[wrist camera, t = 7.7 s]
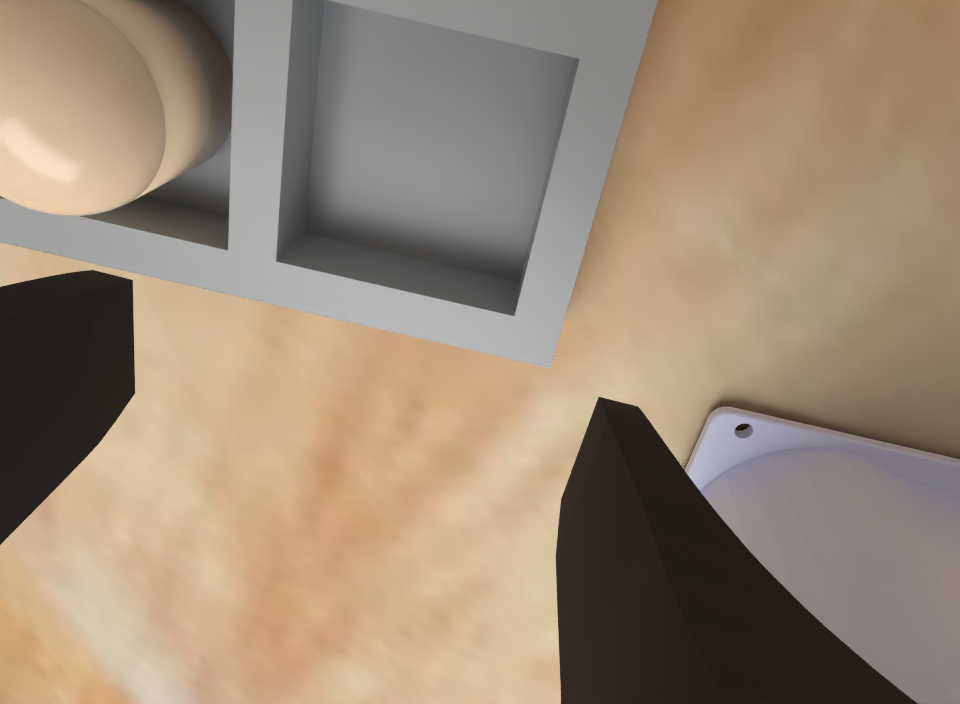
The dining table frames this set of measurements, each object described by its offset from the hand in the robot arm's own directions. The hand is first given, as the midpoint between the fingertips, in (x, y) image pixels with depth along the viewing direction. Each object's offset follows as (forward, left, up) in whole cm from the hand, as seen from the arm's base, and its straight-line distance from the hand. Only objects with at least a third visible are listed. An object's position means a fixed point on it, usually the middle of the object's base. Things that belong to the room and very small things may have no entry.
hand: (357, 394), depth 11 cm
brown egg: (+8, -2, -9) cm, 12 cm away
